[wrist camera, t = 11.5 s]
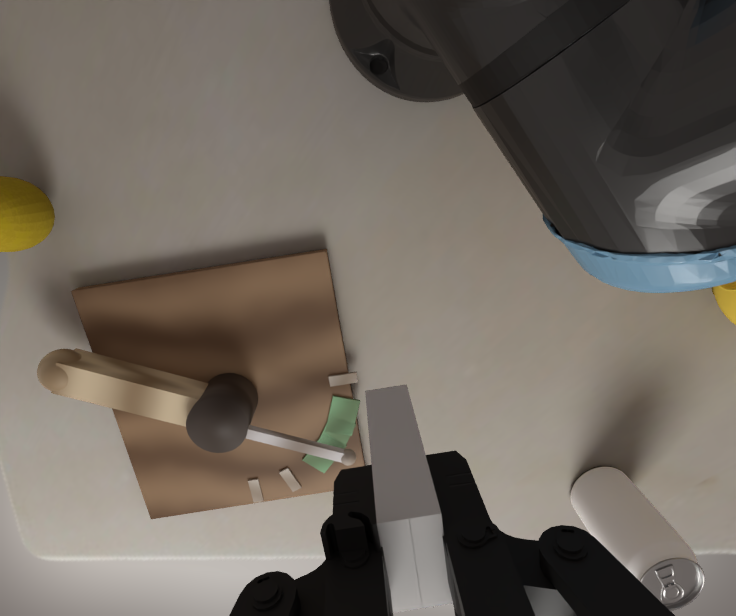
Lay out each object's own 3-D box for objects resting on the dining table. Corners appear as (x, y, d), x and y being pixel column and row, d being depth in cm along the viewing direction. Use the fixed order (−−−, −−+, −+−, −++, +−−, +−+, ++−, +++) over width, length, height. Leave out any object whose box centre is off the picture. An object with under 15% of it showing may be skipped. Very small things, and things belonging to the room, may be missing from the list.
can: (578, 523, 52) (643, 625, 41) (560, 478, 50) (624, 572, 39) (635, 501, 52) (717, 599, 40) (619, 455, 50) (701, 543, 38)
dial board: (78, 287, 42) (69, 291, 41) (335, 247, 42) (335, 250, 41) (155, 510, 49) (150, 520, 48) (375, 476, 49) (375, 485, 48)
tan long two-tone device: (55, 377, 43) (16, 406, 38) (62, 327, 42) (23, 350, 36) (347, 452, 47) (347, 487, 41) (363, 407, 45) (365, 439, 40)
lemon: (33, 160, 39) (-43, 160, 31) (87, 212, 40) (27, 226, 33) (-11, 205, 40) (-95, 216, 32) (44, 255, 41) (-24, 277, 34)
